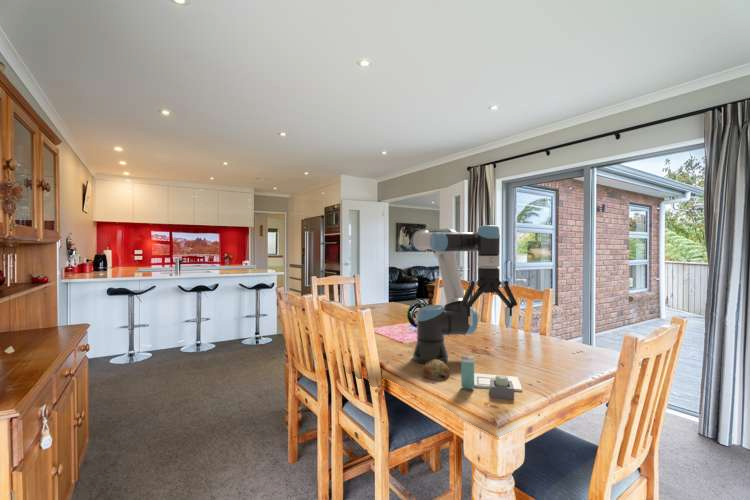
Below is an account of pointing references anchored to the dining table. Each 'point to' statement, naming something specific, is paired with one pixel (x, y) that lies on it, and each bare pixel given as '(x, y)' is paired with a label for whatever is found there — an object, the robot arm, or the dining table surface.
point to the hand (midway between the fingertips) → (488, 325)
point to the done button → (501, 381)
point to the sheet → (484, 379)
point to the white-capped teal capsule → (467, 372)
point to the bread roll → (436, 370)
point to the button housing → (502, 390)
